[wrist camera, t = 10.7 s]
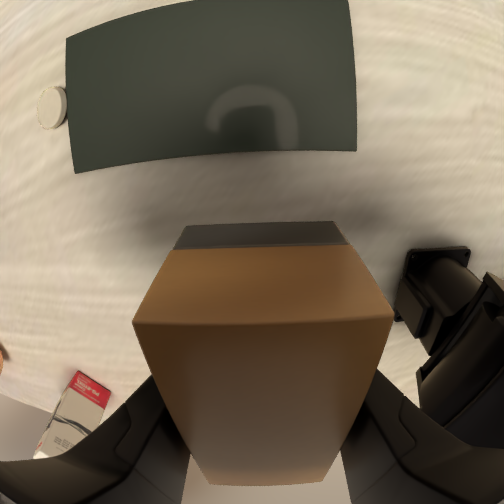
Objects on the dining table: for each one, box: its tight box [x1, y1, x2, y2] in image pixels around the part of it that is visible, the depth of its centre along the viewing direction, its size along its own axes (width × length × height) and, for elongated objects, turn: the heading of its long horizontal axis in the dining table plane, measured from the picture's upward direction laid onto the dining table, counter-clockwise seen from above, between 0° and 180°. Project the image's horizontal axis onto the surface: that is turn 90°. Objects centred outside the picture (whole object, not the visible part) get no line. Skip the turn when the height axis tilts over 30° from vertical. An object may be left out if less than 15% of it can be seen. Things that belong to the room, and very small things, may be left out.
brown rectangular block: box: [132, 221, 394, 486], centre depth 7 cm, size 4×8×4 cm, turn 2°
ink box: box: [33, 371, 111, 459], centre depth 23 cm, size 8×5×12 cm, turn 137°
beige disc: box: [37, 87, 67, 129], centre depth 14 cm, size 3×3×1 cm
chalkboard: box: [66, 0, 357, 174], centre depth 14 cm, size 18×10×1 cm, turn 93°
